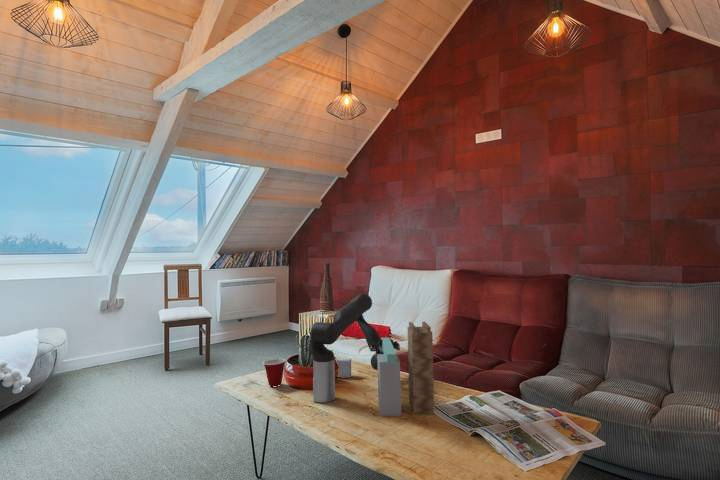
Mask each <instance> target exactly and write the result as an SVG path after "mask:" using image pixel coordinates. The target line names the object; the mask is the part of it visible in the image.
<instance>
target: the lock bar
mask: <svg viewBox="0 0 720 480" xmlns="http://www.w3.org/2000/svg"><path fill="white" fill-rule="evenodd" d="M380 339H382V349H383V352H384V355H385V358H386V361H387V364H397V357H396V354H397V352H396V349H394V347H393V345H392V343H391V341H390V339H391V338H390V337H380Z"/></svg>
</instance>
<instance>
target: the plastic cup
mask: <svg viewBox="0 0 720 480" xmlns="http://www.w3.org/2000/svg"><path fill="white" fill-rule="evenodd" d="M286 361H287V360H286V359H284V358H273V359H268V360H264V361H263V362H262V364H263V366H264V368H265V372H266V378H267V383H268V386H269V385H270V386H278V385H280V384H281V383H282V381H283V378H284V377H283V376H284V368H285V362H286ZM282 384H283V383H282ZM282 384H281V385H282Z"/></svg>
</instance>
